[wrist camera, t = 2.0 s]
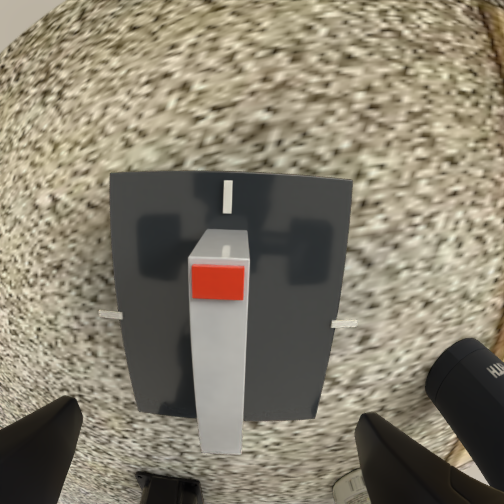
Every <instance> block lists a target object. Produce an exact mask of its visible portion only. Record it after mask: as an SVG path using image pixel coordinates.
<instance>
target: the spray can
mask: <svg viewBox="0 0 504 504" xmlns="http://www.w3.org/2000/svg"><path fill="white" fill-rule="evenodd" d="M333 497H334V501H335V504H371V502H370V499H369V496H368V492H367V489H366V486H365V483H364V480H363V476H362V472H361V469H357V470H354V471H352V472H351V473H349V474H347V475H345V476H344V477H342V478H341V479H340V480H338V481H337V482H336V483H335V485H334V487H333Z"/></svg>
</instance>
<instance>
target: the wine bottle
mask: <svg viewBox="0 0 504 504" xmlns="http://www.w3.org/2000/svg"><path fill="white" fill-rule="evenodd" d="M425 388H426V393H427V395H428V396H429V398H430V399H431V400H432V402H433V403H434V405H435V406H436V407H437V409H438V410H439V411H440V413H441V414H442V416H443V417H444V418H445V420H446V421H447V423H448V424H449V425H450V427H451V428H452V430H453V431H454V433H455V434H456V435H457V437H458V438H459V440H460V441H461V443H462V444H463V446H464V447H465V449H466V450H467V451H468V453H469V454H470V456H471V457H472V459H473V460H474V462H475V463H476V465H477V466H478V468H479V469H480V471H481V473H482V474H483V476H484V477H485V479H486V480H487V482H488V483H489V485H490V487H493V488H495V489H497V490H500V491H502V492H504V363H503V362H502V361H501V360H500V359H499V358H498V357H497V356H495V355H494V354H493V353H492V352H491V351H490V350H489V349H487V348H486V347H485V346H484V345H483V344H481V343H480V342H479V341H478V340H476V339H474V338H467V339H463V340H461V341H459V342H457V343H455V344H454V345H452V346H451V347H450V348H448V349H447V350H446V351H445V352H444V353H443V354H442V355H441V356H440V357H439V358H438V360H437V361H436V363H435V364H434V366H433V367H432V369H431V371H430V373H429V375H428V377H427V381H426V386H425Z"/></svg>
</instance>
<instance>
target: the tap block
mask: <svg viewBox="0 0 504 504" xmlns="http://www.w3.org/2000/svg"><path fill="white" fill-rule="evenodd" d="M352 188H353V180H351V179H342V178H332V177H321V176H309V175H297V174H282V173H264V172H242V171H194V170H179V171H132V172H111V173H110V226H111V244H112V258H113V270H114V280H115V289H116V297H117V305H118V312H116V311H107V310H99V311H98V312H99V317H104V318H113V319H120V326H121V332H122V338H123V344H124V349H125V354H126V359H127V364H128V369H129V374H130V378H131V383H132V387H133V391H134V396H135V400H136V404H137V407H138V411H139V412H145V413H152V414H159V415H167V416H175V417H185V418H196V419H197V412H196V402H195V391H194V379H193V366H192V352H191V335H190V315H189V289H188V257H189V255H190V253H191V252H192V250H193V249H194V247H195V246H196V244H197V243H198V241H199V240H200V238H201V237H202V235H203V234H204V232H205V231H206V229H224V230H247V231H248V241H249V254H250V273H249V296H248V319H247V343H246V366H245V390H244V414H243V421H286V420H306V419H315V417H316V413H317V409H318V405H319V401H320V397H321V392H322V388H323V384H324V380H325V375H326V370H327V366H328V361H329V356H330V351H331V346H332V341H333V336H334V330H335V328H345V327H357V323H358V321H357V320H336V319H337V313H338V307H339V301H340V295H341V288H342V281H343V274H344V267H345V259H346V251H347V243H348V233H349V224H350V213H351V201H352Z"/></svg>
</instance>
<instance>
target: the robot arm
mask: <svg viewBox="0 0 504 504" xmlns="http://www.w3.org/2000/svg"><path fill="white" fill-rule="evenodd" d="M82 422H83V415H82V412H81V410H80V407H79V405H78V402H77V400H76V399H75V398H74V397H70V396H66V395H64V396H62V397H60V398H58V399H56V400H55V401H53V402H51V403H49V404H47V405H46V406H44V407H42V408H40V409H38V410H36V411H35V412H33V413H31V414H29V415H27V416H25V417H24V418H22V419H20V420H18V421H16V422H14V423H12V424H10V425H9V426H7V427H5V428H3V429H1V430H0V504H57V502H58V499H59V496H60V493H61V490H62V487H63V484H64V481H65V478H66V476H67V473H68V470H69V467H70V465H71V462H72V459H73V456H74V453H75V449H76V445H77V441H78V437H79V433H80V429H81V426H82ZM355 440H356V445H357V450H358V456H359V461H360V467H361V472H362V476H363V480H364V483H365V486H366V489H367V492H368V496H369V499H370V502H371V504H504V492H502V491H500V490H497V489H495V488H493V487H490V486H488V485H486V484H484V483H481V482H480V481H478V480H476V479H474V478H472V477H469V476H468V475H466V474H465V473H463V472H461V471H460V470H458V469H457V468H455V467H454V466H451V465H450V464H449V463H447V462H446V461H444V460H443V459H441V458H440V457H438V456H437V455H435V454H434V453H432V452H431V451H429V450H428V449H426V448H425V447H423V446H422V445H421V444H419V443H418V442H416V441H415V440H413V439H412V438H410V437H409V436H408V435H406V434H405V433H403V432H402V431H400V430H399V429H398V428H396V427H395V426H393V425H392V424H391V423H389V422H388V421H387V420H385V419H384V418H382V417H381V416H380V415H378V414H377V413H375V412H368V413H363V414H362V415H361V416H360V419H359V422H358V424H357V427H356V429H355ZM135 477H136V479H137V481H138V483H139V485H140V487H141V489H142V491H143V492H142V496H141V500H140V504H204V501H203V496H202V491H201V485H200V482H199V481H197V480H192V479H183V478H175V477H168V476H161V475H155V474H149V473H144V472H136V474H135Z"/></svg>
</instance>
